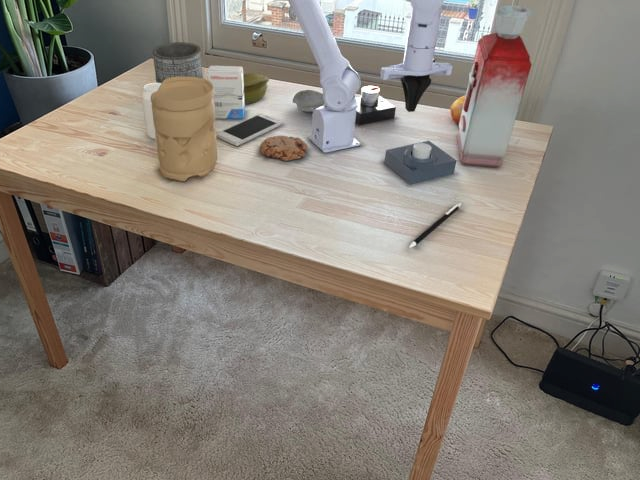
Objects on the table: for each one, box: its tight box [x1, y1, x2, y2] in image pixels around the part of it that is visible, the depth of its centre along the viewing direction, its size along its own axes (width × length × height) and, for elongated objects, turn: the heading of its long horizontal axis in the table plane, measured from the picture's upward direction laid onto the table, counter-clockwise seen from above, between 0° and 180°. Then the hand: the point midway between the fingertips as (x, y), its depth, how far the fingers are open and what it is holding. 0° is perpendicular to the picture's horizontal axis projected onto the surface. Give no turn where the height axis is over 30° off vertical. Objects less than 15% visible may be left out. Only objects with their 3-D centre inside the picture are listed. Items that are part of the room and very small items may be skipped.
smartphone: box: [216, 113, 282, 147], centre depth 138 cm, size 7×15×1 cm, turn 136°
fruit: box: [449, 94, 466, 126], centre depth 138 cm, size 8×8×8 cm
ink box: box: [205, 65, 246, 120], centre depth 142 cm, size 9×5×12 cm, turn 84°
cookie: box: [259, 135, 308, 162], centre depth 129 cm, size 10×11×3 cm
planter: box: [152, 41, 204, 83], centre depth 150 cm, size 12×12×13 cm
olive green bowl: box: [243, 72, 270, 104], centre depth 151 cm, size 11×12×7 cm
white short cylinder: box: [412, 142, 432, 159], centre depth 118 cm, size 4×4×2 cm
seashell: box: [292, 89, 325, 113], centre depth 145 cm, size 12×8×5 cm
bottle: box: [456, 5, 533, 168], centre depth 119 cm, size 14×10×30 cm
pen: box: [408, 203, 462, 249], centre depth 107 cm, size 1×19×1 cm, turn 137°
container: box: [151, 76, 219, 182], centre depth 119 cm, size 13×13×18 cm
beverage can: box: [141, 82, 162, 141], centre depth 133 cm, size 6×6×12 cm
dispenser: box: [383, 140, 457, 185], centre depth 122 cm, size 11×11×5 cm
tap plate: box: [355, 95, 397, 126], centre depth 144 cm, size 10×9×3 cm
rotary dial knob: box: [360, 85, 381, 107], centre depth 142 cm, size 4×4×4 cm
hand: (409, 109), depth 123 cm, fingers closed
